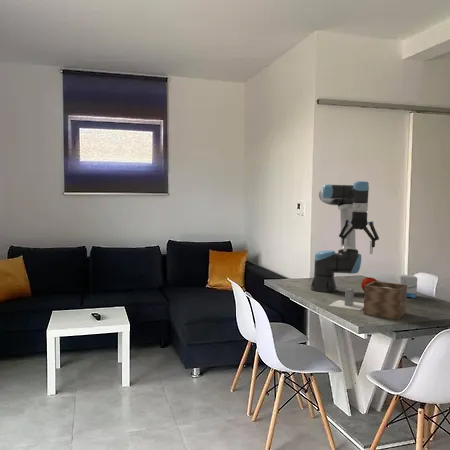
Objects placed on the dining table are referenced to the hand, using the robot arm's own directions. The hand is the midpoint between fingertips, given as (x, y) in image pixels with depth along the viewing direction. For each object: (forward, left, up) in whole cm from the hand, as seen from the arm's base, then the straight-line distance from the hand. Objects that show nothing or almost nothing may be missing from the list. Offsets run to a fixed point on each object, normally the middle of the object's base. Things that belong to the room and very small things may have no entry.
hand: (357, 252), depth 243 cm
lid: (-1, -8, -27) cm, 28 cm away
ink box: (+19, +38, -27) cm, 50 cm away
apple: (+1, +24, -27) cm, 36 cm away
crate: (+18, -14, -27) cm, 35 cm away
